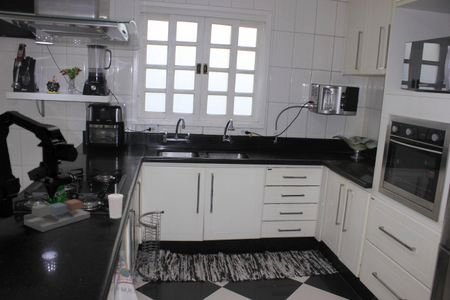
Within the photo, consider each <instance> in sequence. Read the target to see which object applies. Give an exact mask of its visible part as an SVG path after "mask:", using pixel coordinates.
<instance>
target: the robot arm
mask: <svg viewBox="0 0 450 300" xmlns="http://www.w3.org/2000/svg"><path fill="white" fill-rule="evenodd" d="M12 125H16V126H18V127H20V128H22V129H24V130H26V131H28V132H30V133H33V134H34V136H35V138H37V139H38V140H39V141H40V142H39V143H38V144H37V145H36V147H37V148H41V155H42V156H41V158H42V161H39V162H38V163H39V165H38V166H36V167H34V168H33V169H31V170H29V171H27V176H28V178H29V180H30V181H32V182H34V183H38V182H39V183H40V184H42V185H43V186H44V188H45V190H46V194H47V193H48V196H49V198H50V199H52V198H53V197H54V195H55V193H56V191H57V189H58V188H59V186H62V185H65V186H66V185H71V184H73V183H74V181H73V180H74V179H73V176H71V175H68V174H62V171H60V165H62V162H68V163H74V162H75V161H76V160H77V158H78V155H79V152H78V149H77V148H76V147H75V143H68V141H67V139H66V138H65V136H64V135H63V133H62V131H61V128H60V127H59V126H57V125H54V124H49V123H43V122H40V121H38V120H35V119H33V118H31V117H29V116H26V115H25V114H22V113H20V112H19V111H17V110H8V111H7V110H6V111H5V112H3V113H1V114H0V218H6V217H9V216H14V215H17V214H18V212H17V211H15V210H14V199H16V198H18V196H19V193H20V191H21V188H22V185H21V183H20V182H21V181H20V177H16V176H15V175H14V174H13V169H12V163H11V158H10V152H9V146H8V140H7V139H8V136H9V134H10V127H11V126H12Z"/></svg>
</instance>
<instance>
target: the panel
mask: <svg viewBox="0 0 450 300" xmlns="http://www.w3.org/2000/svg"><path fill="white" fill-rule="evenodd" d="M89 218H91V212H89V211H86V210H83V209H78V210H75V211H70V210H67V212H66V213H62V214H59V215H54V214H50V215H46V216H43V217H37V216H34V215H32V213H29V214H24V215H23V225H26V226H27V227H29V228H32V229H35V230H37V231H39V232H40V233H41V232H42V233H43V232H47V231H51V230H53V229H56V228H59V227H62V226H63V227H64V226H66V225H70V224H74V223H76V222H79V221H83V220H86V219H89Z"/></svg>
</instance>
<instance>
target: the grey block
mask: <svg viewBox="0 0 450 300" xmlns="http://www.w3.org/2000/svg"><path fill="white" fill-rule="evenodd" d="M31 214H32V215H34V216H37V217H43V216H46V215H50V214H51V207H50V206H49V205H48V204H44V203H41V204H38V205H35V206H31Z"/></svg>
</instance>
